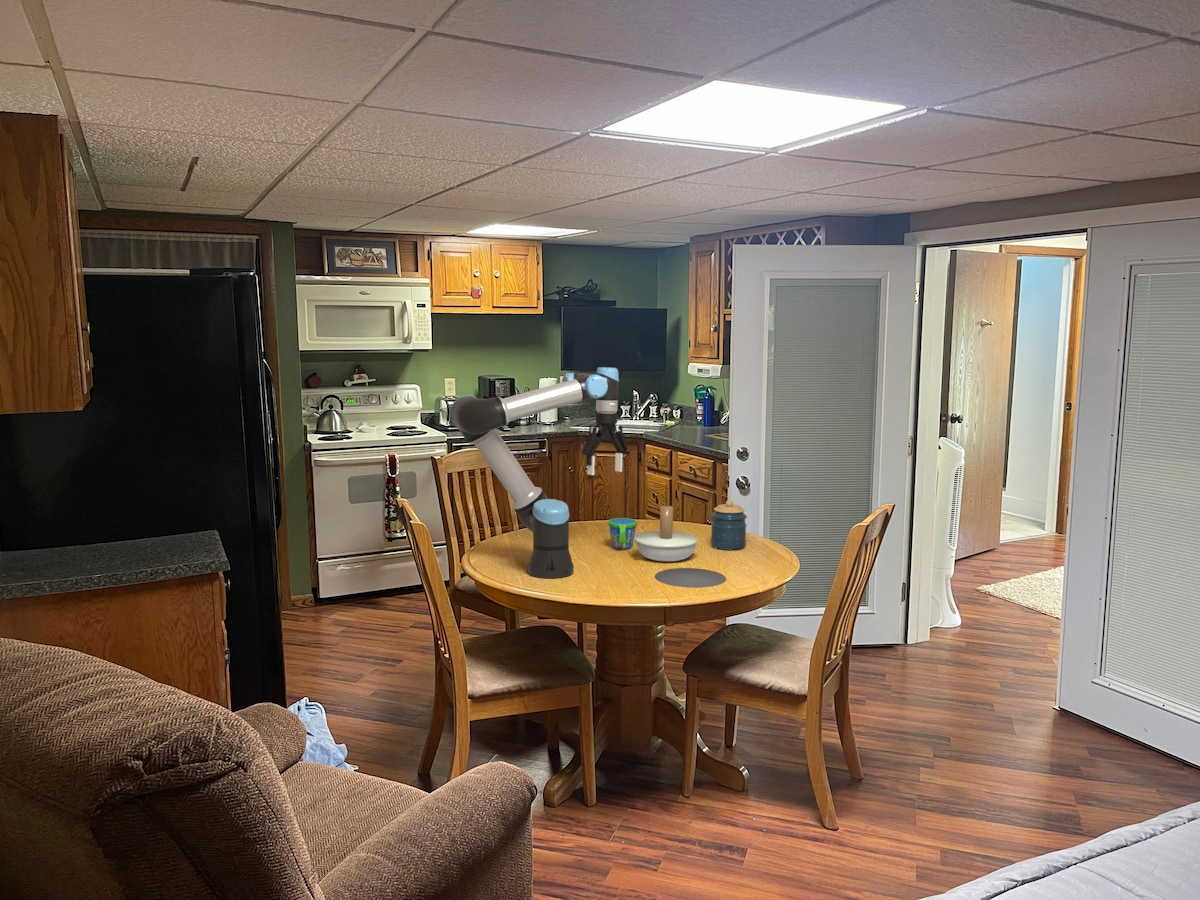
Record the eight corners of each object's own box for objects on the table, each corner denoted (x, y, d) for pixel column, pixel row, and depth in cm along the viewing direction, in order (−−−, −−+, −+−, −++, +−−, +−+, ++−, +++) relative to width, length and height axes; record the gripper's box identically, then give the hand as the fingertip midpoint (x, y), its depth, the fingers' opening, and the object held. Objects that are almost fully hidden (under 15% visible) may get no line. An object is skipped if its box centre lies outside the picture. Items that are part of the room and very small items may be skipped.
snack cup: (634, 553, 317) (634, 525, 316) (605, 552, 319) (605, 524, 317) (638, 543, 333) (638, 516, 331) (610, 542, 334) (610, 515, 333)
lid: (669, 551, 293) (670, 515, 292) (621, 540, 309) (621, 506, 307) (710, 540, 309) (711, 507, 307) (662, 530, 324) (663, 498, 323)
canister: (734, 541, 337) (735, 496, 335) (752, 549, 325) (753, 502, 323) (704, 544, 332) (705, 498, 330) (721, 552, 320) (722, 504, 318)
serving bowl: (705, 557, 313) (706, 538, 312) (677, 570, 295) (678, 550, 294) (654, 549, 324) (655, 531, 323) (624, 561, 307) (625, 542, 306)
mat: (696, 593, 268) (696, 591, 268) (639, 578, 284) (639, 577, 284) (740, 579, 285) (740, 577, 285) (685, 566, 301) (685, 564, 300)
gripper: (587, 414, 294) (585, 477, 296) (639, 411, 311) (637, 471, 314) (572, 412, 299) (570, 474, 302) (624, 410, 316) (622, 468, 319)
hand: (604, 473), depth 308 cm, fingers open, 13 cm apart
